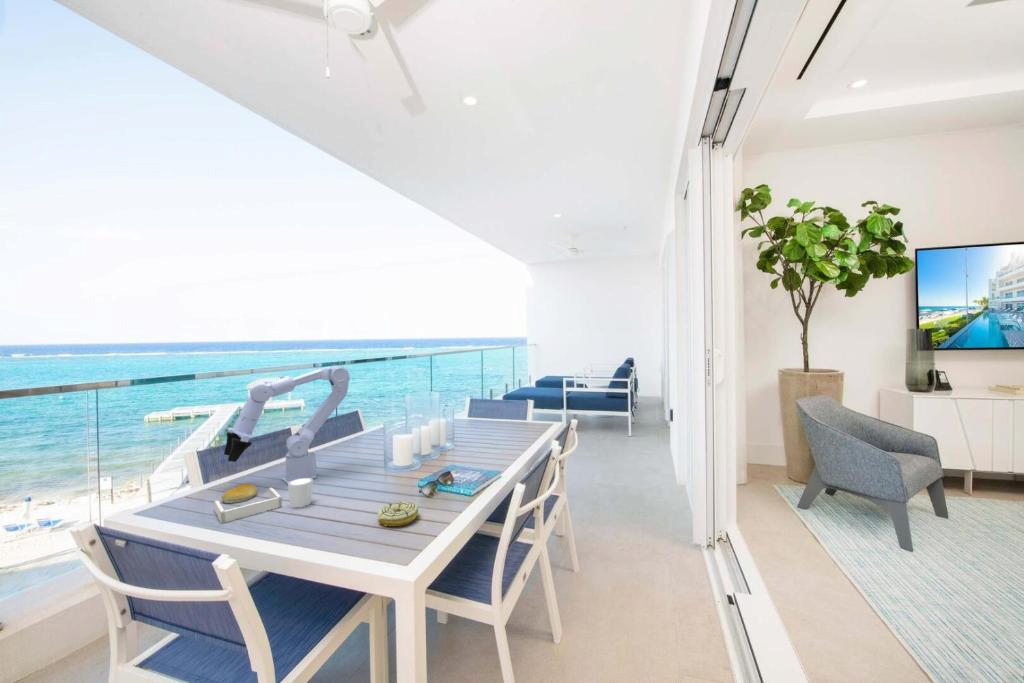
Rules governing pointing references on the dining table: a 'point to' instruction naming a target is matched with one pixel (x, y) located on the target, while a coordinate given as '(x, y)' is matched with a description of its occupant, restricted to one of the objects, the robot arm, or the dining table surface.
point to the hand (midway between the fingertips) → (229, 457)
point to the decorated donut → (398, 514)
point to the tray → (248, 508)
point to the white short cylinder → (300, 491)
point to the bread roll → (240, 493)
